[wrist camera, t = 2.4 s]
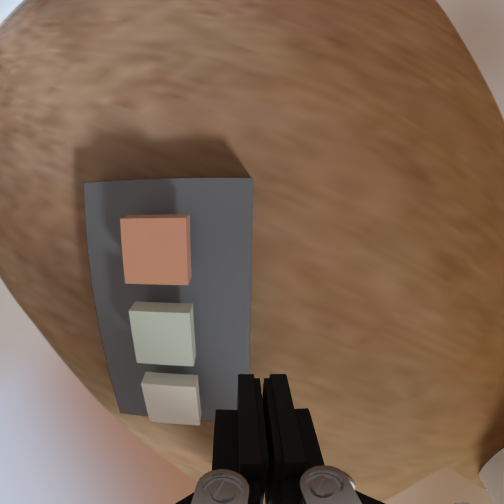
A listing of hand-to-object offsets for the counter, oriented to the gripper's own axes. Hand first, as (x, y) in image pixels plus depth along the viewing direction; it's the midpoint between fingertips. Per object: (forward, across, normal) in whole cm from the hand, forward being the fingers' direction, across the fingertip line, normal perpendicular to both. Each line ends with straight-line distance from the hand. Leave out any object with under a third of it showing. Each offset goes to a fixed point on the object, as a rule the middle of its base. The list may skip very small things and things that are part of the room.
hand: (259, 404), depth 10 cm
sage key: (+14, +6, +5) cm, 16 cm away
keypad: (+19, +6, +5) cm, 20 cm away
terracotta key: (+14, +7, -2) cm, 16 cm away
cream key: (+14, +6, +12) cm, 20 cm away
